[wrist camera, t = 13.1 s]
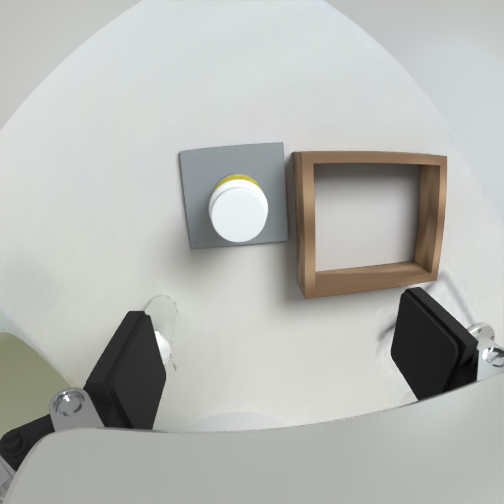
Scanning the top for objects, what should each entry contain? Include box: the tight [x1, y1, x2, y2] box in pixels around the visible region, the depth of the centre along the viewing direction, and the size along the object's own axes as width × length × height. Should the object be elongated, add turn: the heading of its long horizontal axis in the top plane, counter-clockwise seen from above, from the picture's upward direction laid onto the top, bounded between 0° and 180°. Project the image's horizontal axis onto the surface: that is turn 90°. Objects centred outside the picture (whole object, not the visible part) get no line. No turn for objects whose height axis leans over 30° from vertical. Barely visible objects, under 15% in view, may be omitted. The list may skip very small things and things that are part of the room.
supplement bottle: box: [209, 173, 268, 242], centre depth 25 cm, size 5×5×8 cm
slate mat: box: [180, 142, 288, 249], centre depth 30 cm, size 10×10×1 cm
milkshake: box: [144, 295, 177, 371], centre depth 29 cm, size 5×5×10 cm
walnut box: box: [293, 151, 447, 299], centre depth 29 cm, size 14×16×4 cm
